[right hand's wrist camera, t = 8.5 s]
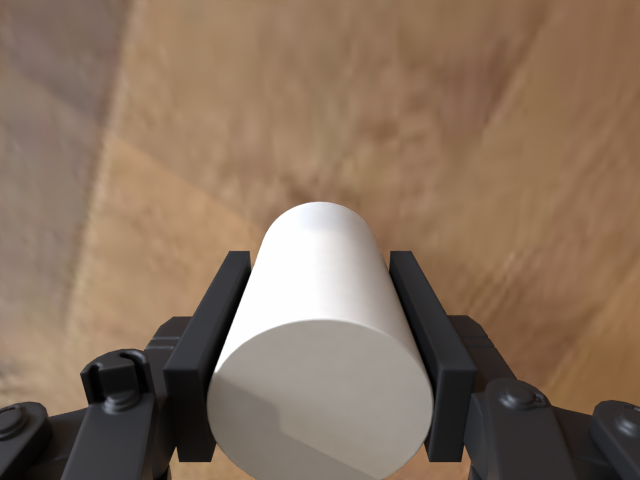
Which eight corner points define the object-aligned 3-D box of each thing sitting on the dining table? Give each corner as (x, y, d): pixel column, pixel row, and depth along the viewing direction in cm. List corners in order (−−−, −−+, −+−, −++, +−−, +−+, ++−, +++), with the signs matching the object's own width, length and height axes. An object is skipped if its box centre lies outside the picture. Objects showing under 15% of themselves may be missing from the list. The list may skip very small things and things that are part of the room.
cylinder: (236, 251, 17) (157, 404, 9) (328, 176, 16) (338, 270, 8) (312, 329, 18) (307, 524, 10) (402, 265, 17) (478, 427, 9)
